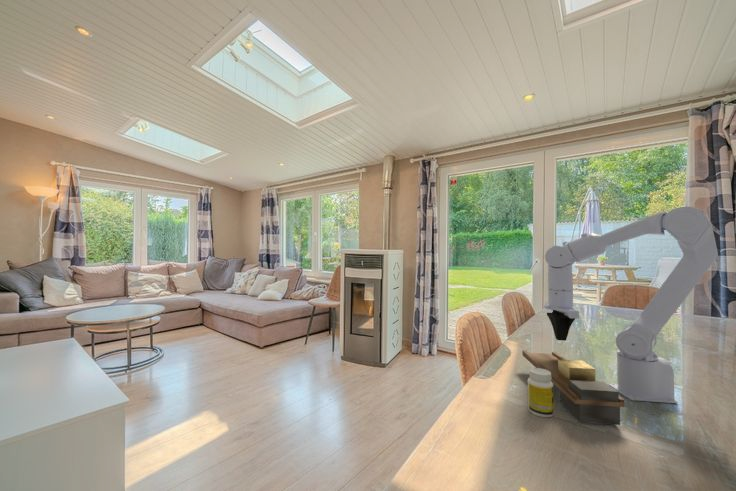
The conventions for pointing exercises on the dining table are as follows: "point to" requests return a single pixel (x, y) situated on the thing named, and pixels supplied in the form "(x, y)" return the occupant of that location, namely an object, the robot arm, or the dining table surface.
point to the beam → (581, 393)
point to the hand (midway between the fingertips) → (561, 339)
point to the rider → (575, 371)
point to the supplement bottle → (540, 393)
